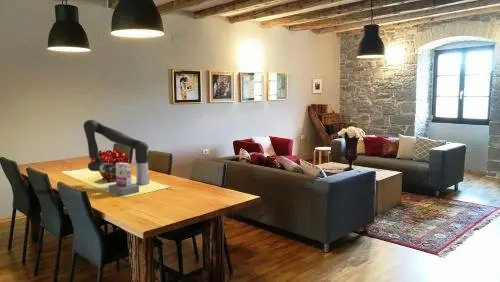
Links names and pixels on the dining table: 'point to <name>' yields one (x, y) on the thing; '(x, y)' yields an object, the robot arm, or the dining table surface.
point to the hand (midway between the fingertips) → (119, 171)
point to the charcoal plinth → (123, 189)
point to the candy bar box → (123, 174)
